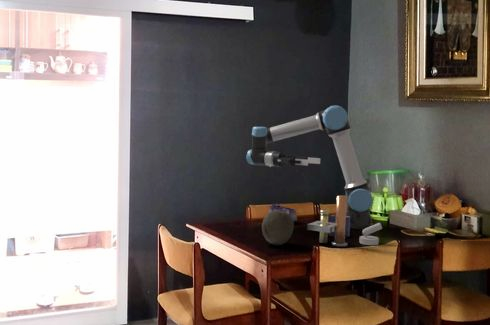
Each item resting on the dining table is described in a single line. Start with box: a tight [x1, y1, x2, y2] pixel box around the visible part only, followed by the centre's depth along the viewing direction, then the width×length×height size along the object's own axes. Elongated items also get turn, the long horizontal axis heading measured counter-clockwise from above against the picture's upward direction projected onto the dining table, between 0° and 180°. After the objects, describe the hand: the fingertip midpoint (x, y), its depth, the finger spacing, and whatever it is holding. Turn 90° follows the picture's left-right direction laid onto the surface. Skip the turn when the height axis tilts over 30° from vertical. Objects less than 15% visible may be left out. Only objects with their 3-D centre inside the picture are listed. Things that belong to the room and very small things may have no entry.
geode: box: [268, 202, 298, 222], centre depth 320 cm, size 20×12×10 cm, turn 34°
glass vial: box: [318, 209, 331, 244], centre depth 269 cm, size 4×4×14 cm
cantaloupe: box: [261, 211, 295, 247], centre depth 262 cm, size 14×14×15 cm
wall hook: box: [358, 222, 383, 246], centre depth 271 cm, size 9×10×10 cm
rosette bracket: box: [306, 195, 348, 248], centre depth 267 cm, size 17×11×22 cm, turn 58°
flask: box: [328, 213, 351, 238], centre depth 285 cm, size 10×3×12 cm, turn 74°
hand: (314, 161), depth 286 cm, fingers open, 13 cm apart
